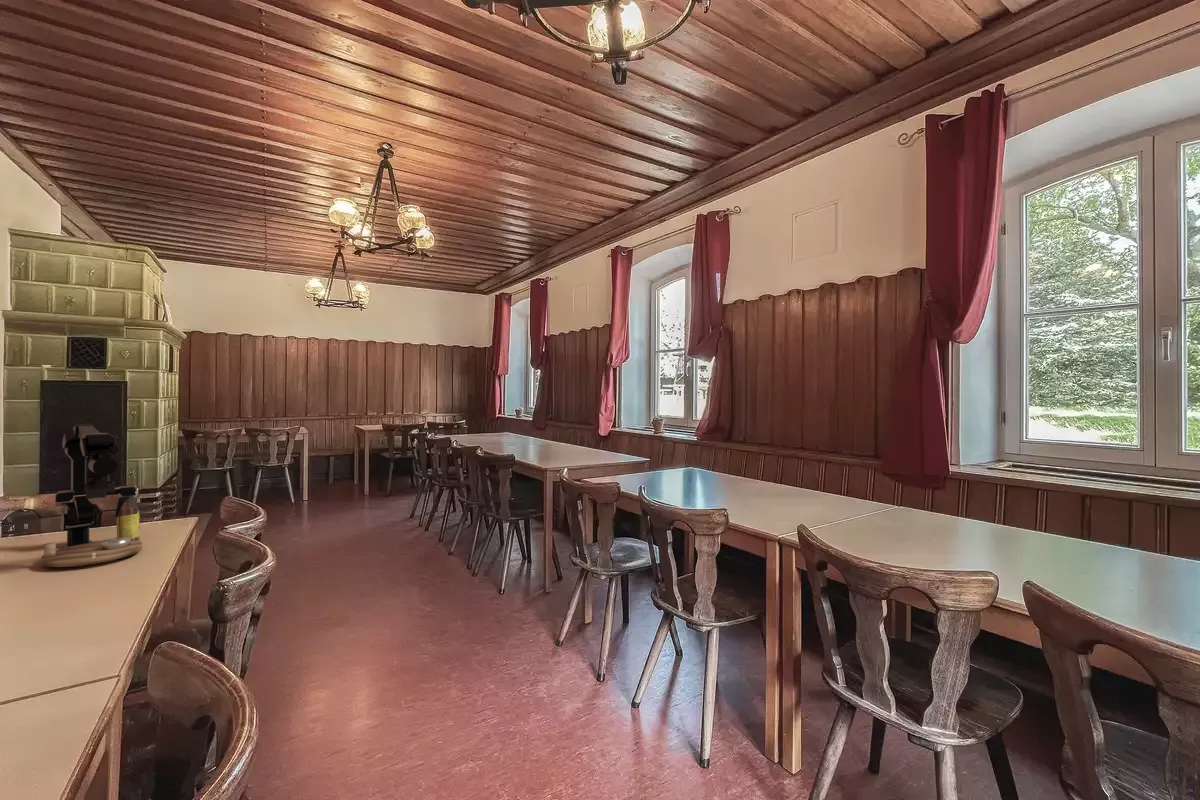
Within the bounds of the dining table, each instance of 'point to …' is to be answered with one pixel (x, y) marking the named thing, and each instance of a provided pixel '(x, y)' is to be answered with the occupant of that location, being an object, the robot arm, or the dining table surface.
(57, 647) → the dining table surface
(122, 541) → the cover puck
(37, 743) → the dining table surface
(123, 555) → the turntable
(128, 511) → the sauce bottle
